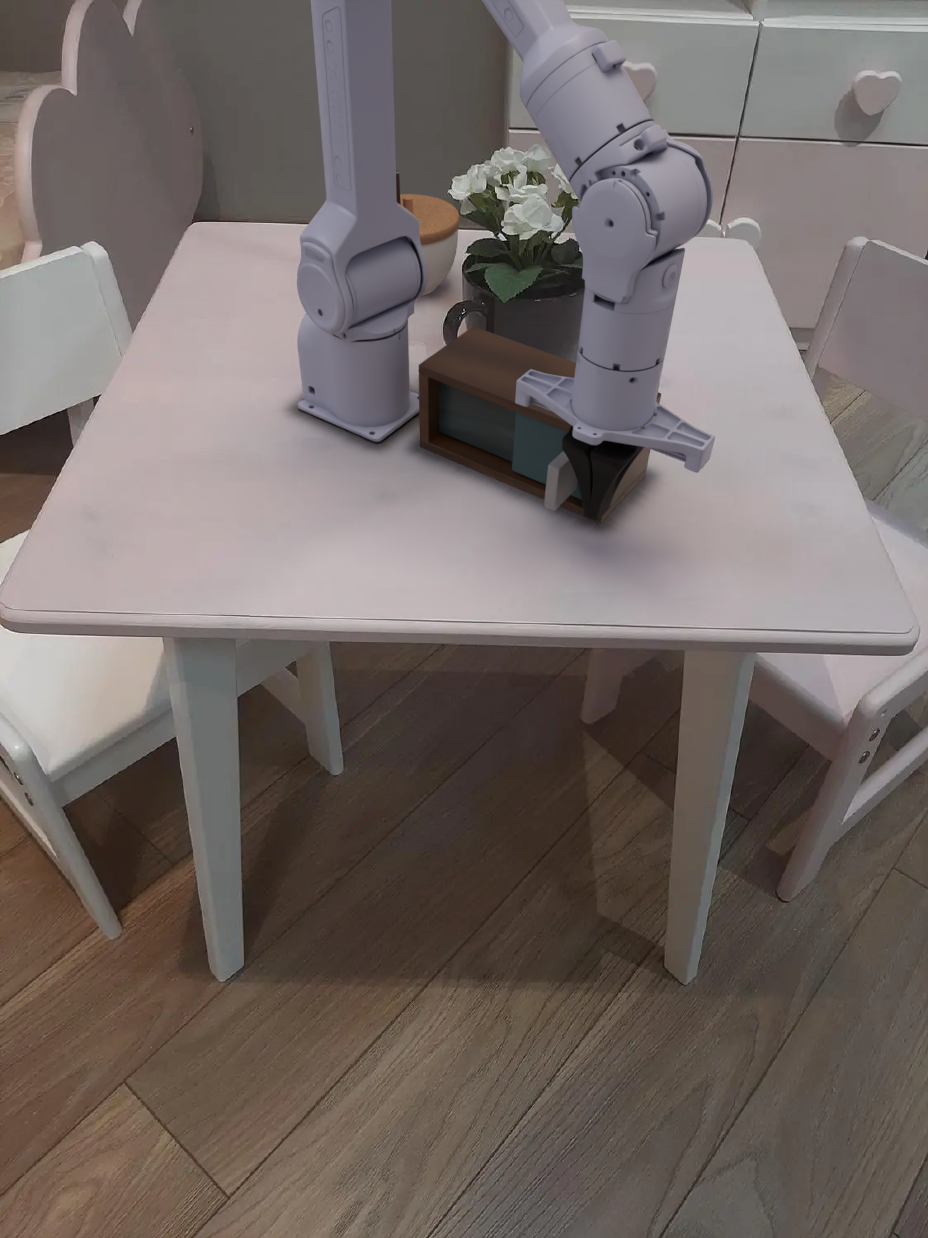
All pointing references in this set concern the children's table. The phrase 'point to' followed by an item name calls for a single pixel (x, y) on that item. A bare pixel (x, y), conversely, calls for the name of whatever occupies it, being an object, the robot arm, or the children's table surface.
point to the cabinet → (493, 409)
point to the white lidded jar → (435, 234)
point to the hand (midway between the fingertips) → (596, 511)
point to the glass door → (544, 459)
